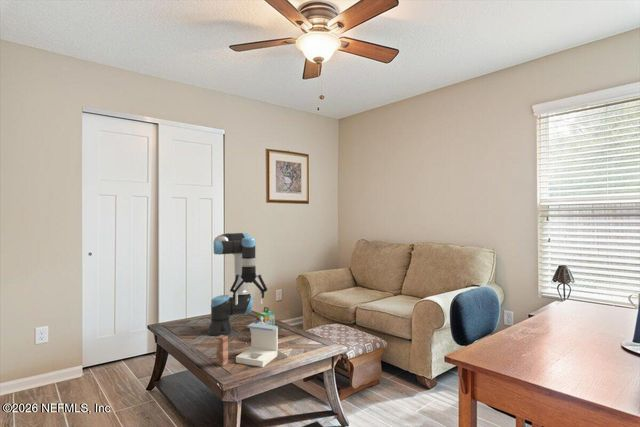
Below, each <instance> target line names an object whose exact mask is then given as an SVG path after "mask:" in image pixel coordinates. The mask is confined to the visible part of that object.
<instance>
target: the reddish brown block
mask: <svg viewBox="0 0 640 427" xmlns="http://www.w3.org/2000/svg"><path fill="white" fill-rule="evenodd" d="M228 363H229V336H228V335H221V336H216V366H221V367H224V366H225V365H226V366H227V364H228Z"/></svg>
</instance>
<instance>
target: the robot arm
mask: <svg viewBox="0 0 640 427" xmlns="http://www.w3.org/2000/svg"><path fill="white" fill-rule="evenodd" d="M256 245H257V244H256V238H255V237H251V236H250V234H249V233H247V232H236V233H234V232H233V233H223V234H219V235H217V236H216V237H215V238H214V239H213V254H214V255H220V256H221V255H231V254H232V255H233V257H234V258H233V259H234V260H233V261H234V264H233V265H234V282H233V284H232V286H231V288H230V289H229V291H230V292H232V297H231V296H230V295H229V294H222V295H221V294H220V295H217V296H215V297H213V298H212V299H211V301H210V310H211V311H210V323H209V327H208V335H210V336H212V337H219V336H221V335H224V336H228V335H230V334H231V333H232V332H233V327H232V323H231V320H230V316H239V315H240V316H241V315H247V314H248V315H249V314H251V313H252V309H253V304H254V301H253V300H254V296H253V295H251V292H250V291H249V284H251V283H253V284H254V285H255V286H256V287H257V289H258V290H259V291H260V293H259V296H260V297H259V301H260V302H259V304H260V305H263V299H264V298H265V292H267V291H268V287H267V284H266V283H265V281H264V280H263V277H262V273H259V274H257V273H256V270H257V269H256V268H257V267H256V264H257V263H256V261H257V258H256ZM256 278H257V279H258V281H259V282H260V283H261V284H260V283H259V282H258V281H257V280H256Z"/></svg>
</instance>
